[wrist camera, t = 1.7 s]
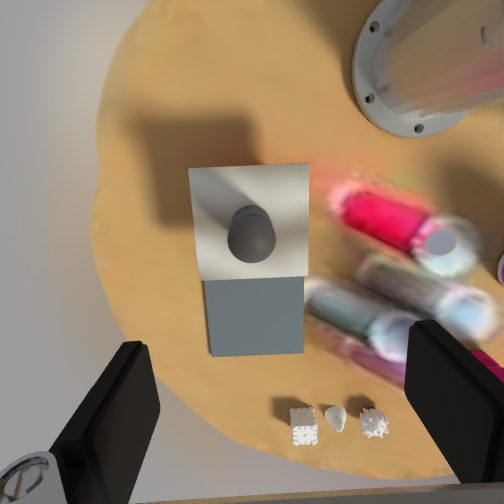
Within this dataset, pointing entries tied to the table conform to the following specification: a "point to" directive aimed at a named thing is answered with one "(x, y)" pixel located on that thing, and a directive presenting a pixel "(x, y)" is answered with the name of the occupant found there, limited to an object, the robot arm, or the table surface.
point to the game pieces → (333, 423)
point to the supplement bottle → (501, 270)
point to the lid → (251, 220)
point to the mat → (255, 316)
